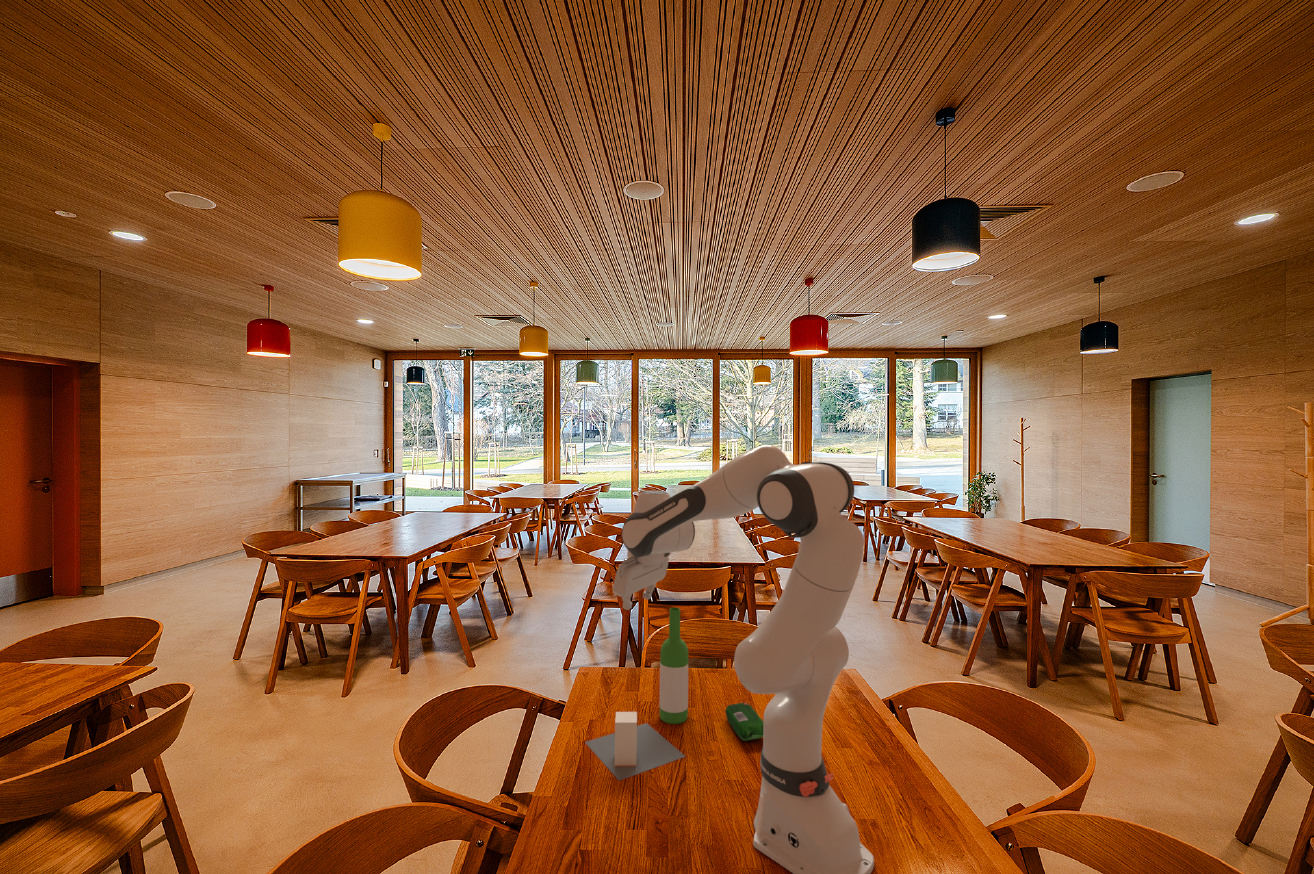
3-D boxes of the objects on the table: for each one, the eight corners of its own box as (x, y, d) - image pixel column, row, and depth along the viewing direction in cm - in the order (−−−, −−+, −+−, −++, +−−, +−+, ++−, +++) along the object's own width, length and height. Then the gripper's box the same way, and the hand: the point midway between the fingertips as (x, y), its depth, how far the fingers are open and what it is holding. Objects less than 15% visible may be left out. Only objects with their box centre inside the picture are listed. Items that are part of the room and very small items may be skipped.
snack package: (743, 750, 131) (743, 728, 131) (722, 718, 147) (722, 699, 147) (770, 747, 133) (770, 726, 133) (746, 716, 148) (747, 697, 148)
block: (636, 766, 123) (636, 722, 123) (614, 766, 122) (615, 722, 123) (636, 754, 128) (636, 711, 128) (615, 754, 127) (616, 711, 128)
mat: (685, 758, 127) (685, 756, 127) (618, 783, 117) (618, 780, 117) (646, 725, 142) (646, 723, 142) (584, 744, 133) (584, 742, 133)
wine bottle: (656, 724, 143) (657, 611, 143) (662, 710, 150) (664, 603, 151) (684, 728, 141) (686, 614, 142) (690, 714, 148) (691, 605, 149)
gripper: (632, 564, 125) (624, 619, 127) (674, 547, 143) (666, 596, 144) (611, 556, 128) (603, 610, 130) (655, 541, 146) (647, 589, 147)
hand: (637, 603), depth 137 cm, fingers open, 8 cm apart
